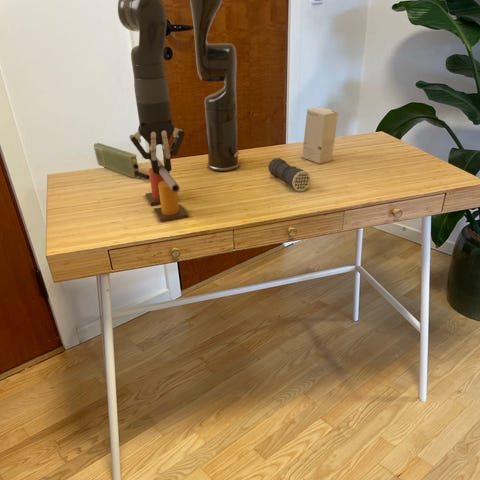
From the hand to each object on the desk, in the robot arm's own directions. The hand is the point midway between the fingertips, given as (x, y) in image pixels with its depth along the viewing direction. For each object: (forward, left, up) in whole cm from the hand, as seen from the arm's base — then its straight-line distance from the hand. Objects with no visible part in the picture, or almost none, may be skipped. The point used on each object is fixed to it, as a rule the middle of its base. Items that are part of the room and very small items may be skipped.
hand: (162, 173), depth 115 cm
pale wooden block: (-17, +54, -9) cm, 57 cm away
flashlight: (-2, +36, -9) cm, 37 cm away
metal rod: (0, 0, 0) cm, 0 cm away
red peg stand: (-6, 0, -9) cm, 10 cm away
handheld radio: (-31, -6, -9) cm, 33 cm away
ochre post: (+5, 0, -9) cm, 10 cm away
